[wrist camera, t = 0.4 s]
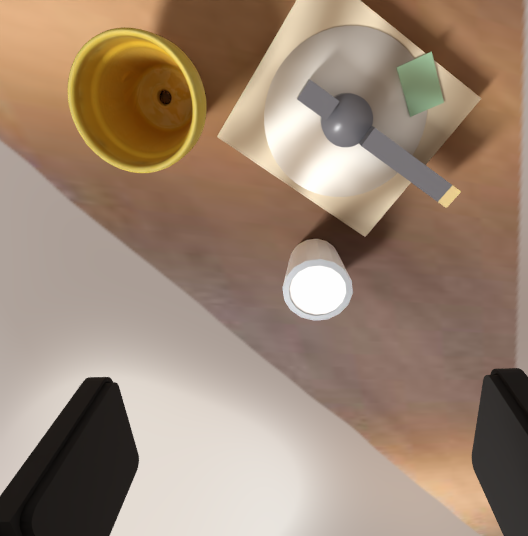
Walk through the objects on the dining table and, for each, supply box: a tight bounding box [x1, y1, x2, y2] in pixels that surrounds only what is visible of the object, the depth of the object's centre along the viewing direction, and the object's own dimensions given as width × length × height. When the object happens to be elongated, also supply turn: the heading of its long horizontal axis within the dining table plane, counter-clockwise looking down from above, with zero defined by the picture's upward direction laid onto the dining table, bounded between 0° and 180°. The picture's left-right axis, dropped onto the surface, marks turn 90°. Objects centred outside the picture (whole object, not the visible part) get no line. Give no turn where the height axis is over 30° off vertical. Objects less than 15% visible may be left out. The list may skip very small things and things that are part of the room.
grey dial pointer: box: [297, 79, 461, 208], centre depth 37 cm, size 16×4×3 cm, turn 57°
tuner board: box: [217, 0, 481, 237], centre depth 39 cm, size 18×16×2 cm
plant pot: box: [68, 28, 206, 173], centre depth 36 cm, size 10×10×10 cm
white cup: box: [283, 239, 353, 320], centre depth 44 cm, size 7×7×7 cm
